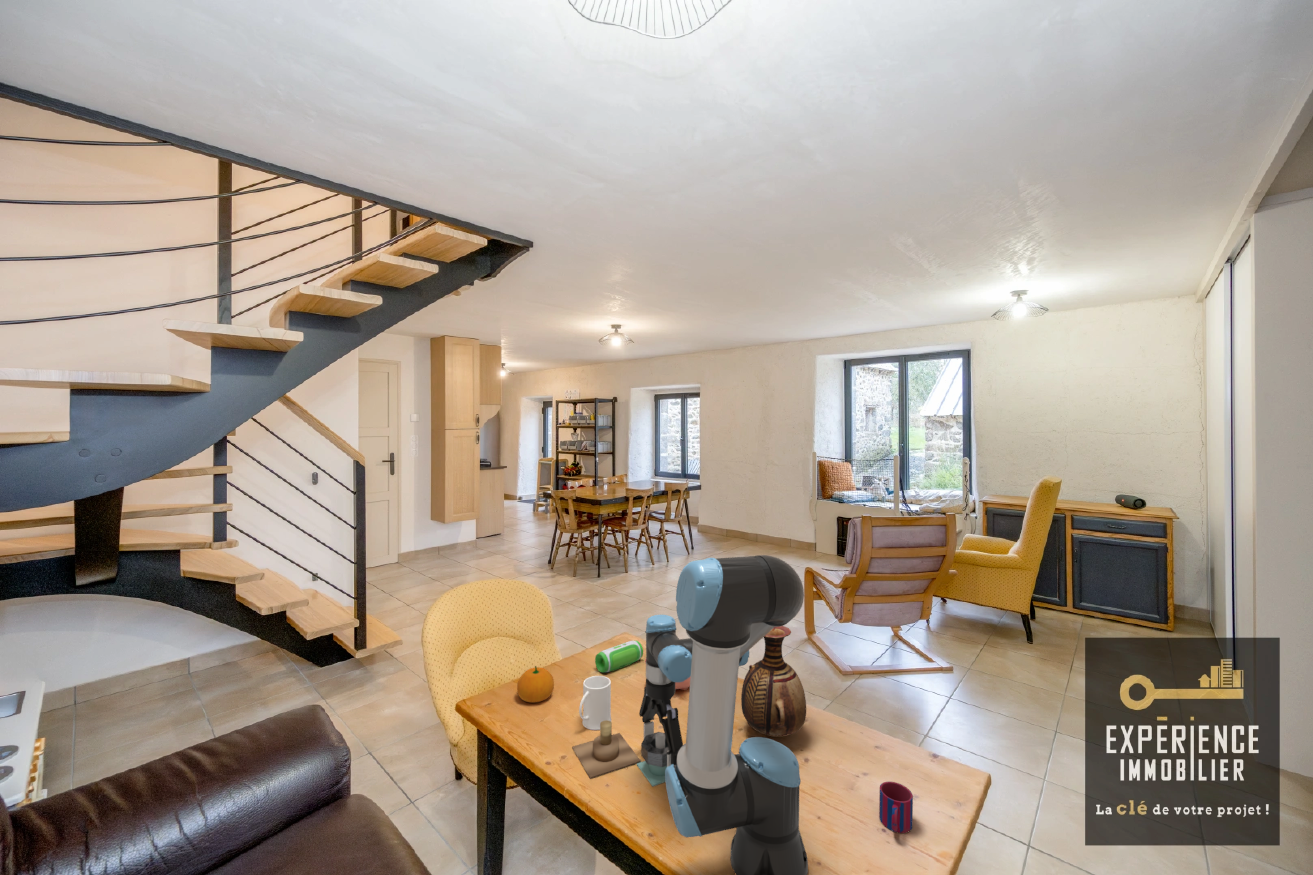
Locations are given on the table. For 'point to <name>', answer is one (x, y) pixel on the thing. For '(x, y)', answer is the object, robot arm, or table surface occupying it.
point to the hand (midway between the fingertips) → (660, 761)
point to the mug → (595, 702)
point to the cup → (896, 807)
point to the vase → (773, 691)
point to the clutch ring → (654, 751)
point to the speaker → (618, 656)
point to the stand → (654, 772)
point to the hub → (605, 752)
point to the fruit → (535, 685)
